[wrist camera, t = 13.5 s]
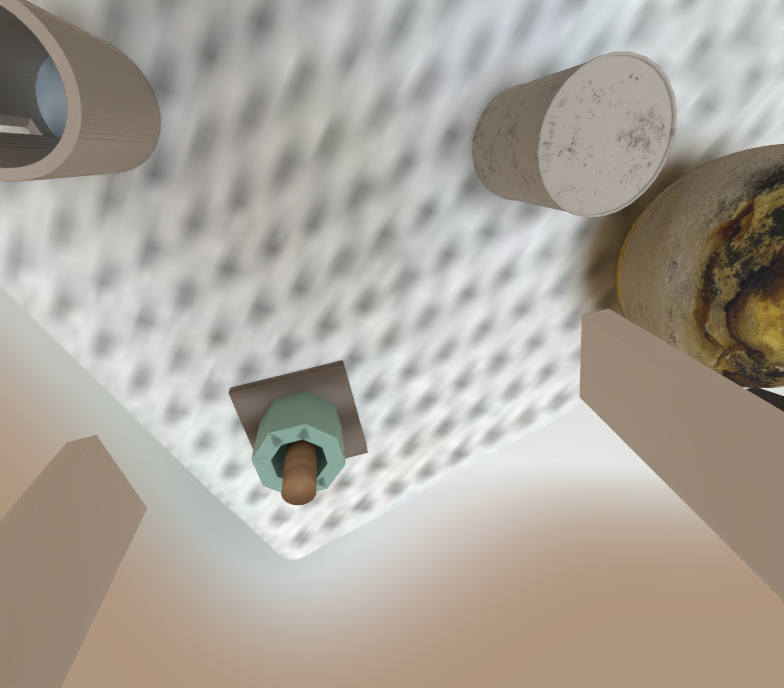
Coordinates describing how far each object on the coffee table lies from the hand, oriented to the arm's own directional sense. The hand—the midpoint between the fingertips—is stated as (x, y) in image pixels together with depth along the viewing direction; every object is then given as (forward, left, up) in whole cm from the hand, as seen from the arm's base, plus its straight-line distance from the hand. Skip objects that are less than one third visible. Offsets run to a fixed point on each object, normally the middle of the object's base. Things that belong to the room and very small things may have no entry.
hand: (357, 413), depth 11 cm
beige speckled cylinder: (-4, +19, -30) cm, 36 cm away
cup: (-13, -15, -30) cm, 36 cm away
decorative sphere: (+9, +34, -30) cm, 46 cm away
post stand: (+19, -8, -30) cm, 36 cm away
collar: (+19, -8, -29) cm, 35 cm away
